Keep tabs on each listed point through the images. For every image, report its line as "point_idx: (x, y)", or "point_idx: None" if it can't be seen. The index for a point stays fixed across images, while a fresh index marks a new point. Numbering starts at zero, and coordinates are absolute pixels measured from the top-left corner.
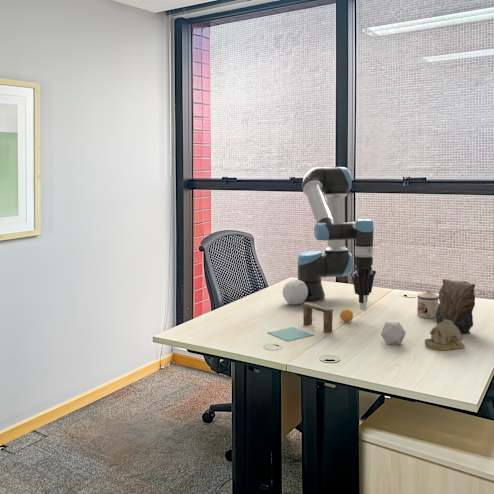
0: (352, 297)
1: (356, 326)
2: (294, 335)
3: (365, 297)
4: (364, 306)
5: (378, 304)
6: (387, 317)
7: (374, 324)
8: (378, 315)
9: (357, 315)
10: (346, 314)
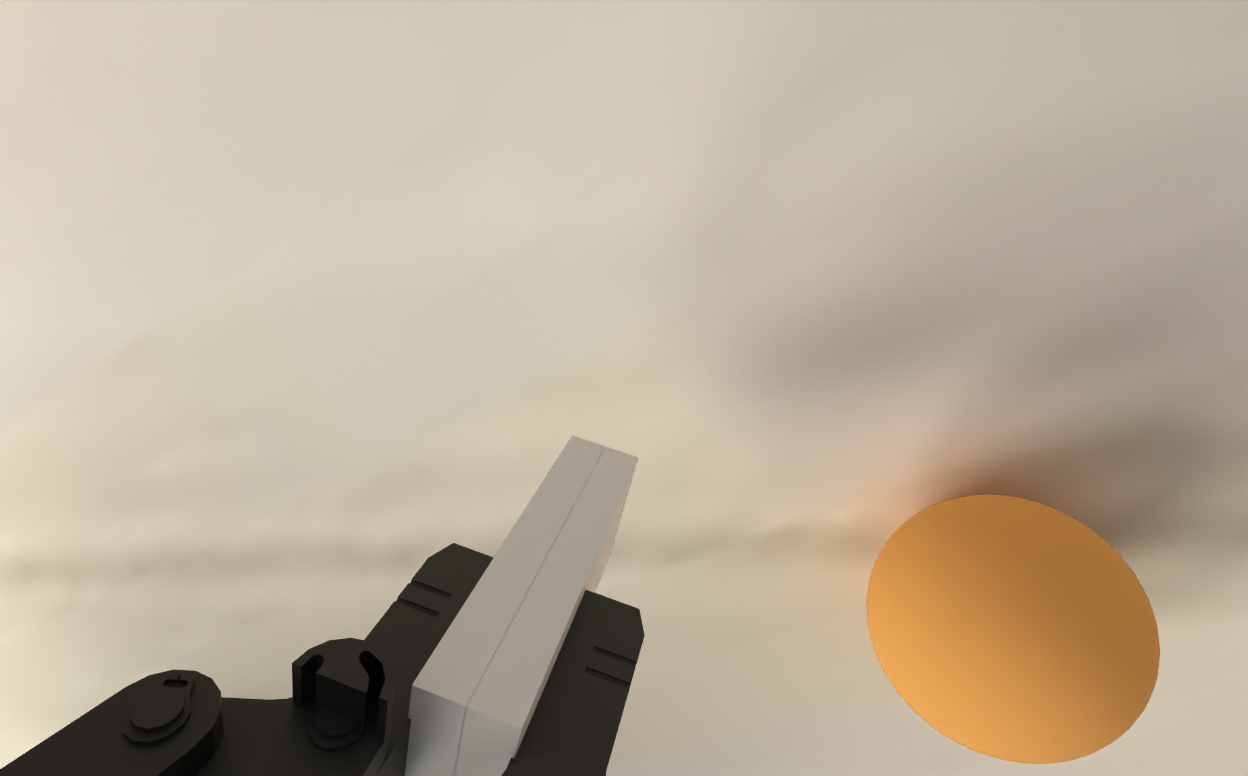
0: None
1: (1209, 292)
2: None
3: (494, 659)
4: (603, 506)
5: (3, 509)
6: (312, 129)
7: (863, 73)
8: (334, 303)
9: None
10: (1154, 626)
